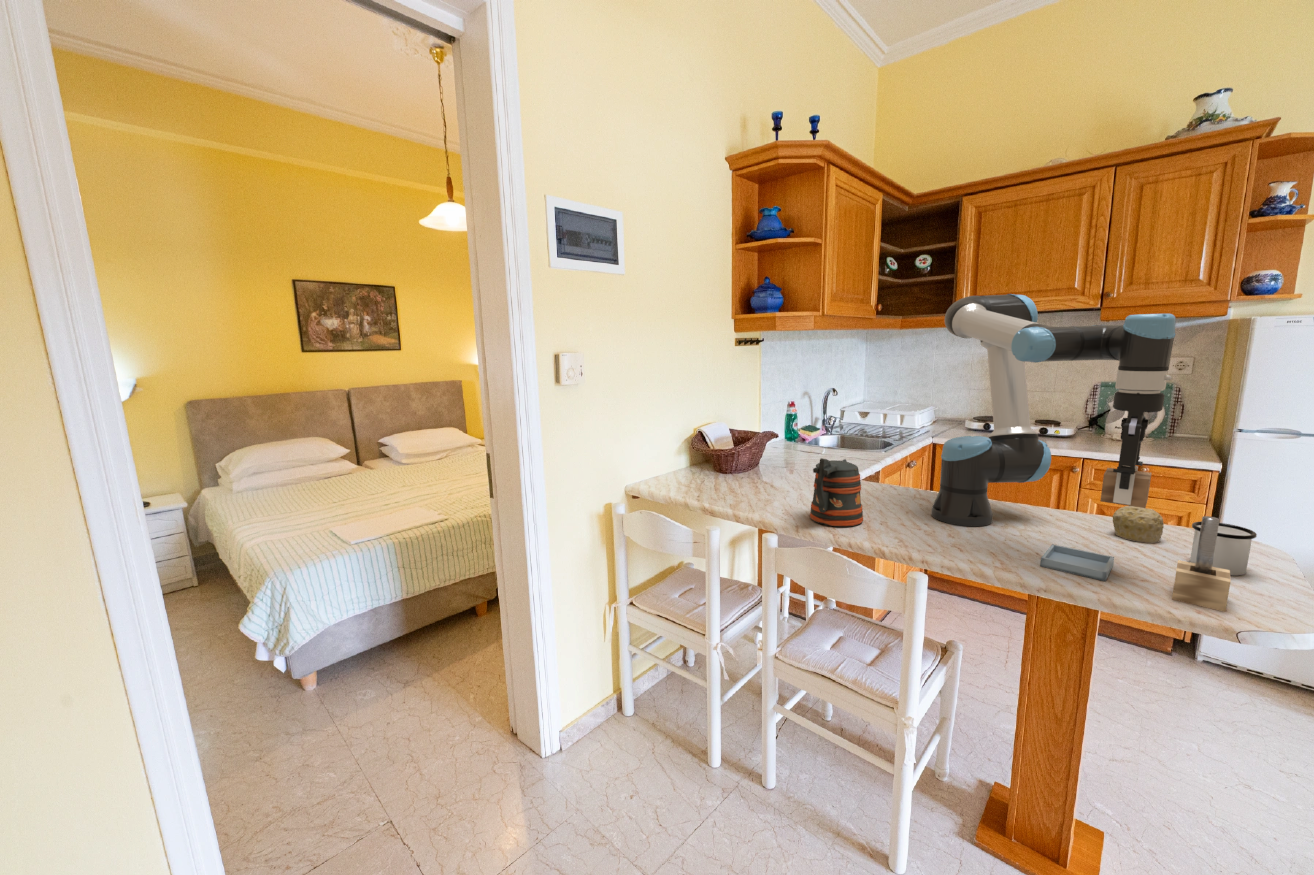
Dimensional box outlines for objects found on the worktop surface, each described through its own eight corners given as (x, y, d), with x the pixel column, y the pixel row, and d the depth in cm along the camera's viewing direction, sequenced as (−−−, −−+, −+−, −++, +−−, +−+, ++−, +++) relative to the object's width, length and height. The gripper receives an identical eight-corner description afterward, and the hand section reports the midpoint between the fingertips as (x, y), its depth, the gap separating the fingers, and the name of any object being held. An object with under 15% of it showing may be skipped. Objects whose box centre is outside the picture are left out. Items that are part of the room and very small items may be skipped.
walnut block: (1100, 501, 109) (1103, 474, 108) (1104, 493, 114) (1107, 467, 113) (1145, 508, 104) (1149, 479, 103) (1147, 500, 109) (1151, 472, 108)
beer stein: (848, 536, 137) (850, 463, 133) (795, 526, 146) (797, 457, 142) (869, 517, 152) (872, 450, 148) (820, 509, 160) (822, 446, 157)
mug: (1257, 581, 106) (1264, 539, 104) (1192, 571, 111) (1198, 531, 109) (1236, 560, 115) (1243, 522, 114) (1178, 552, 121) (1183, 515, 119)
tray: (1040, 566, 116) (1040, 557, 115) (1051, 552, 123) (1052, 544, 123) (1105, 581, 107) (1106, 572, 107) (1113, 565, 115) (1114, 557, 115)
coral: (1170, 540, 128) (1175, 511, 126) (1144, 545, 125) (1149, 515, 124) (1128, 529, 136) (1131, 501, 135) (1103, 533, 134) (1106, 505, 133)
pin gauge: (1190, 592, 99) (1202, 518, 97) (1191, 588, 101) (1202, 515, 98) (1207, 596, 98) (1219, 521, 95) (1207, 592, 99) (1219, 517, 97)
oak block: (1171, 599, 100) (1176, 570, 99) (1173, 587, 104) (1178, 560, 103) (1225, 612, 95) (1230, 582, 94) (1224, 599, 99) (1229, 570, 98)
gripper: (1163, 397, 96) (1144, 514, 100) (1167, 387, 109) (1150, 491, 114) (1109, 394, 101) (1094, 506, 105) (1119, 386, 114) (1105, 485, 119)
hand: (1123, 498), depth 109 cm, fingers closed on walnut block, 7 cm apart
